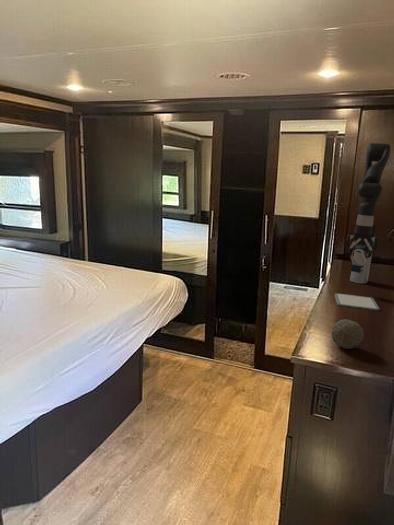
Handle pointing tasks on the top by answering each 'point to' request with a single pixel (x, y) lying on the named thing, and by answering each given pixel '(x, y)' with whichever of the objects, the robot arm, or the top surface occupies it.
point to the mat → (356, 301)
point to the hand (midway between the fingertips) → (359, 256)
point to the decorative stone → (347, 334)
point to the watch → (356, 266)
